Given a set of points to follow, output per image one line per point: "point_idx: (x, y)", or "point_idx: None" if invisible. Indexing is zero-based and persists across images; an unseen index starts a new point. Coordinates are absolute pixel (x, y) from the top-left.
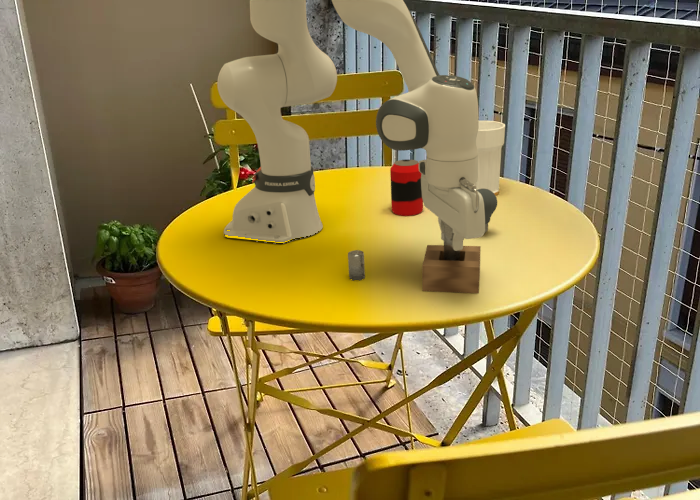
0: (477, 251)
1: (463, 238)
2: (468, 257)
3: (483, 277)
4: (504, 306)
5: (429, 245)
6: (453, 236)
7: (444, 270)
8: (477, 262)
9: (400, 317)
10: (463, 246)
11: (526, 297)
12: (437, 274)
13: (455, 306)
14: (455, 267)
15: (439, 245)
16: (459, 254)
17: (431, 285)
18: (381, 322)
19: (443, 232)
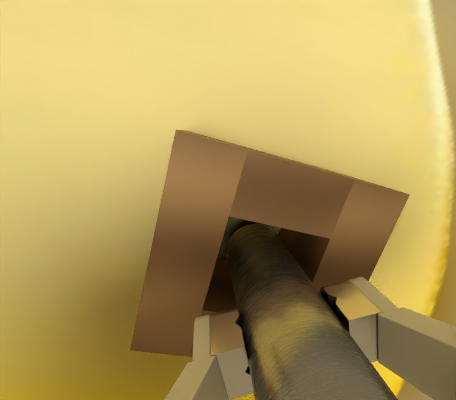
0: (242, 162)
1: (432, 323)
2: (300, 216)
3: (241, 133)
4: (436, 124)
5: (138, 343)
6: (431, 394)
7: None
8: (361, 190)
9: None
10: (167, 213)
11: (413, 35)
12: None
13: (389, 244)
14: (368, 275)
15: (142, 308)
16: (290, 256)
17: None
18: (399, 378)
19: (232, 395)
